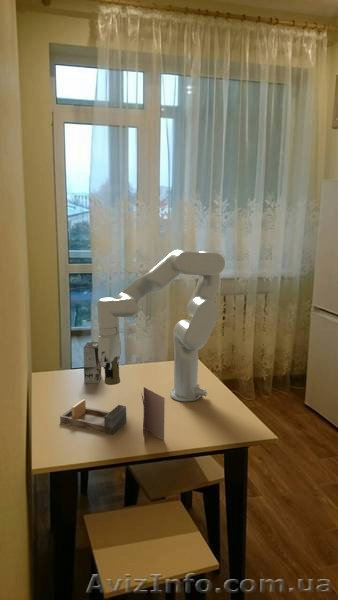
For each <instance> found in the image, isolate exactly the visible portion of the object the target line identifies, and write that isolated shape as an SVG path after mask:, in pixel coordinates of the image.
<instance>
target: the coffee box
mask: <svg viewBox="0 0 338 600" xmlns="http://www.w3.org/2000/svg"><path fill="white" fill-rule="evenodd" d="M100 364H101V362H100V361H99V358H98V342H97V341H94V342H93V341H92V342H91V341H90V342H86V344H85V345H84V346H83V383H85V384H86V383H87V384H98V383H99V381H100V380H101V377H102V366H101V365H100Z"/></svg>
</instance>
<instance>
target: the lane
mask: <svg viewBox="0 0 338 600" xmlns="http://www.w3.org/2000/svg"><path fill="white" fill-rule="evenodd" d="M59 422H60V424H63V425H67V426H71V427H72V426H73V427H76V428H80V429H84V430H85V429H86V430H90V431H93V432H98V433H104V434H107V435H111V436H112V435H114V434H115V433H116V432H117V431H119V429H121V427H123V426H124V425H125V424H126V423H127V405H122V404H121V405H120V404H118V405H117V406H115V407H114V408H113V409H112V410H111V411H107V410H102V409H96V408H91V407H87V406H86V413H84V414H83V415H82V416H80V417H79V418H78V419H76V418H72V408H70V409H69V410H67V411H66V412H63V414H61V415H60V417H59Z"/></svg>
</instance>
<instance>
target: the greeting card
mask: <svg viewBox="0 0 338 600" xmlns="http://www.w3.org/2000/svg"><path fill="white" fill-rule="evenodd" d="M140 394H141V400H142V405H143V406H142V407H143V417H142V418H143V421H142V422H143V423H142V434H143V437H145V430H147V432H150V433H152V434H153V435H155V436H156V438H157V437H158V438H159V439H161V440H162V441H165V397H164V396H162V395H160V394H158V393H156V392H154V391H153V390H150V389H148V388H146V387H144V386H143V393H142V392H140Z"/></svg>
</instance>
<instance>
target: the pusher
mask: <svg viewBox="0 0 338 600" xmlns="http://www.w3.org/2000/svg"><path fill="white" fill-rule="evenodd" d="M86 403H87V402H86V399H84V398H83V399H81V400H80V401H78V402H77V403H76V404H74V405H72V406H71V409H72V418H76V419H78V418H79V417H80V416H82V415H83V414H84V413H86V407H87V405H86Z"/></svg>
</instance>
